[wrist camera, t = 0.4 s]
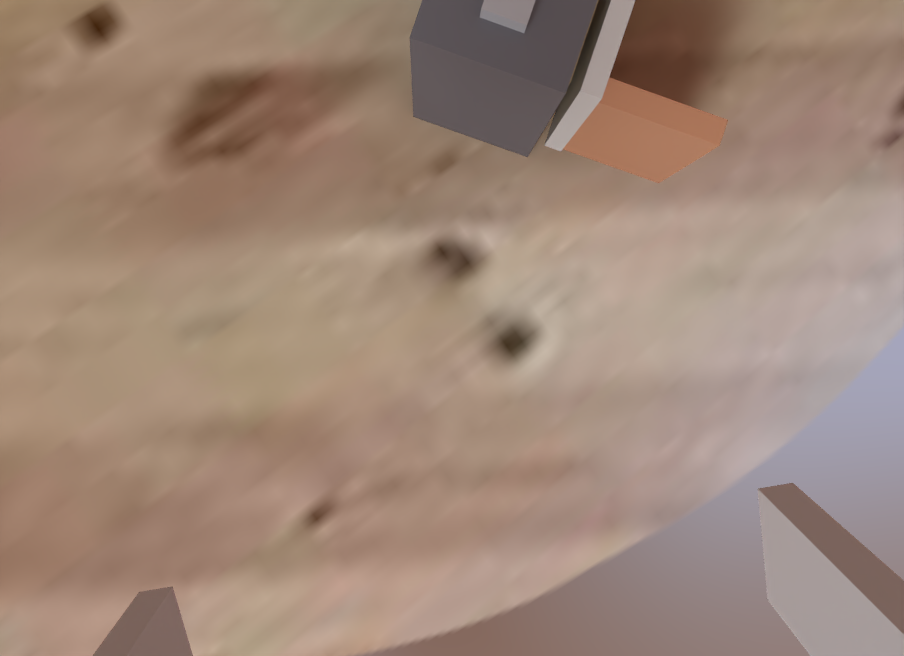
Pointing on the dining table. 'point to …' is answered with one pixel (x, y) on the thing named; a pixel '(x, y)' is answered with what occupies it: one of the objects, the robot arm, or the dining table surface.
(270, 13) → the dining table surface
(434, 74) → the camera housing
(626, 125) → the side door
